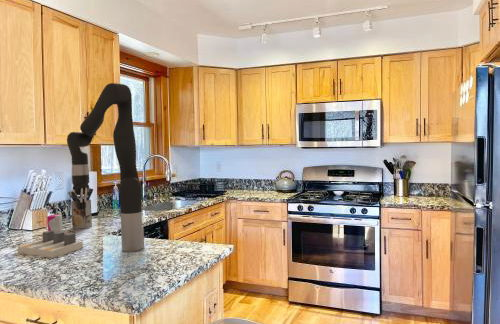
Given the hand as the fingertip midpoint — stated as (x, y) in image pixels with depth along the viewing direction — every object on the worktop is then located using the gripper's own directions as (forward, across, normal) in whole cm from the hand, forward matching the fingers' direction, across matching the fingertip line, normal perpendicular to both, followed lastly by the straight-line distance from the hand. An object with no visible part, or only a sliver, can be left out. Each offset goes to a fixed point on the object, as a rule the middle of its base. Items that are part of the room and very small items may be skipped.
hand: (81, 209), depth 175 cm
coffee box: (+17, -28, -31) cm, 45 cm away
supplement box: (+17, -7, -27) cm, 33 cm away
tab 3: (+15, +8, 0) cm, 17 cm away
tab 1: (+15, +7, -14) cm, 22 cm away
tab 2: (+15, +7, -7) cm, 18 cm away
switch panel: (+17, +12, -7) cm, 22 cm away
